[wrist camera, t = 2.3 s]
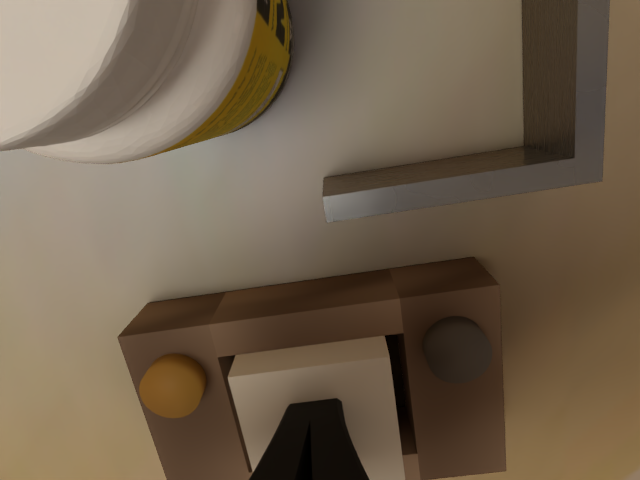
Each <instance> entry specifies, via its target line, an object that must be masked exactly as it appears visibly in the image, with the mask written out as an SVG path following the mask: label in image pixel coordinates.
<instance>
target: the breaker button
mask: <svg viewBox="0 0 640 480" xmlns="http://www.w3.org/2000/svg"><path fill="white" fill-rule="evenodd" d="M228 381H229V385H230V389H231V392H232V396H233V400H234V404H235V407H236V411H237V415H238V419H239V422H240V426H241V430H242V434H243V437H244V441H245V445H246V449H247V452H248V456H249V460H250V464H251V467H252V471H253V472H254V470H255V468H256V467H257V465H258V463H259V461H260V459H261V458H262V456H263V454H264V452H265V450H266V449H267V447H268V445H269V443H270V441H271V439H272V437H273V435H274V433H275V432H276V430H277V428H278V425H279V423H280V421H281V419H282V417H283V415H284V413H285V410H286V408H287V407H288V406H289V405H290V404H293V403H301V402H309V401H317V400H325V399H333V398H338V399H339V400H340V401H342V406H343V412H344V417H345V423H346V426H347V429H348V432H349V435H350V438H351V440H352V443H353V445H354V447H355V450H356V452H357V454H358V457H359V459H360V461H361V463H362V465H363V467H364V470H365V472H366V474H367V476H368V477H369V479H370V480H405V472H404V465H403V457H402V449H401V441H400V434H399V426H398V418H397V410H396V402H395V395H394V387H393V379H392V371H391V364H390V356H389V352H388V348H387V344H386V339H385V335H384V336H377V337H369V338H361V339H354V340H346V341H339V342H331V343H323V344H316V345H308V346H301V347H293V348H285V349H278V350H270V351H262V352H255V353H247V354H240V355H236V356H235V358H234V361H233V364H232V367H231V369H230V372H229V375H228Z"/></svg>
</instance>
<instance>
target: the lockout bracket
mask: <svg viewBox="0 0 640 480" xmlns="http://www.w3.org/2000/svg"><path fill="white" fill-rule="evenodd" d="M609 6H610V0H522V28H523V95H524V146H523V147H517V148H510V149H504V150H498V151H491V152H485V153H479V154H472V155H466V156H460V157H453V158H447V159H441V160H434V161H428V162H422V163H415V164H409V165H403V166H396V167H390V168H383V169H377V170H371V171H364V172H358V173H352V174H345V175H339V176H333V177H326V178H324V180H323V204H324V210H325V216H326V222H327V223H328V222H334V221H341V220H348V219H354V218H361V217H368V216H374V215H381V214H388V213H394V212H401V211H408V210H414V209H421V208H427V207H434V206H441V205H447V204H454V203H461V202H467V201H474V200H481V199H487V198H494V197H501V196H507V195H514V194H521V193H527V192H534V191H540V190H547V189H554V188H560V187H567V186H574V185H580V184H587V183H594V182H600V181H602V177H603V152H604V128H605V104H606V79H607V55H608V30H609Z"/></svg>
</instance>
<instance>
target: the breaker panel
mask: <svg viewBox="0 0 640 480" xmlns="http://www.w3.org/2000/svg"><path fill="white" fill-rule="evenodd" d="M392 334H397V339H398V347H399V356H400V364H401V372H402V380H403V389H404V397H405V405H406V407H400V408H396V410H397V418H398V426H399V434H400V441H401V449H402V457H403V465H404V472H405V480H429V479H438V478H447V477H457V476H466V475H475V474H484V473H494V472H503V471H506V448H505V420H504V392H503V364H502V336H501V308H500V285H499V284H498V283H497V281H496V280H495V279H494V278H493V277H492V276H491V275H490V274H489V273H488V272H487V271H486V270H485V268H484V267H483V266H482V265H481V264H480V263H479V262H478V261H477V260H476V259H475V258H474V257H471V258H463V259H456V260H449V261H442V262H435V263H428V264H421V265H414V266H407V267H400V268H393V269H386V270H379V271H372V272H365V273H358V274H351V275H343V276H336V277H329V278H322V279H315V280H308V281H301V282H294V283H287V284H280V285H273V286H266V287H259V288H252V289H245V290H238V291H231V292H223V293H216V294H209V295H202V296H195V297H188V298H181V299H174V300H167V301H160V302H153V303H147V304H146V306H145V307H144V308H143V309H142V310H141V311H140V312H139V313H138V315H137V316H136V317H135V318H134V319H133V320H132V321H131V322H130V324H129V325H128V326H127V327H126V328H125V329H124V330H123V331H122V333H121V334H120V335H119V336H118V340H119V343H120V346H121V349H122V352H123V355H124V358H125V360H126V363H127V366H128V369H129V372H130V375H131V378H132V381H133V383H134V386H135V389H136V392H137V395H138V398H139V401H140V404H141V406H142V409H143V412H144V415H145V418H146V421H147V424H148V427H149V429H150V432H151V435H152V438H153V441H154V444H155V447H156V450H157V453H158V455H159V458H160V461H161V464H162V467H163V470H164V473H165V476H166V478H167V480H249V478H250V477H251V475H252V473H253V471H252V467H251V464H250V460H249V456H248V452H247V449H246V445H245V441H244V437H243V434H242V430H241V426H240V422H239V419H238V415H237V411H236V407H235V404H234V400H233V396H232V392H231V389H230V385H229V381H228V375H229V372H230V369H231V367H232V364H233V361H234V358H235V356H236V355H240V354H247V353H255V352H262V351H270V350H278V349H285V348H293V347H301V346H308V345H316V344H323V343H331V342H339V341H346V340H354V339H361V338H369V337H377V336H384V335H392Z"/></svg>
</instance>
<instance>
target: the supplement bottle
mask: <svg viewBox="0 0 640 480" xmlns="http://www.w3.org/2000/svg"><path fill="white" fill-rule="evenodd" d="M293 45H294V36H293V25H292V18H291V13H290V9H289V5H288V2H287V0H0V151H6V150H14V149H22V148H23V149H25V150H28V151H30V152H33V153H36V154H40V155H43V156H46V157H50V158H55V159H59V160H64V161H70V162H77V163H93V164H113V163H123V162H128V161H134V160H138V159H142V158H146V157H150V156H153V155H157V154H160V153H163V152H167V151H170V150H174V149H177V148H181V147H184V146H187V145H191V144H194V143H198V142H201V141H205V140H208V139H211V138H215V137H219V136H222V135H225V134H228V133H231V132H234V131H237V130H239V129H241V128H243V127H245V126H247V125H249V124H250V123H252V122H253V121H255V120H256V119H258V118H259V117H260V116H261V115H262V114H264V113H265V112H266V111H267V109H268V108H269V107H270V106H271V105H272V104H273V102H274V101H275V100H276V98H277V97H278V95H279V94H280V92H281V90H282V88H283V86H284V84H285V82H286V79H287V77H288V74H289V70H290V66H291V62H292V56H293Z"/></svg>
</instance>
